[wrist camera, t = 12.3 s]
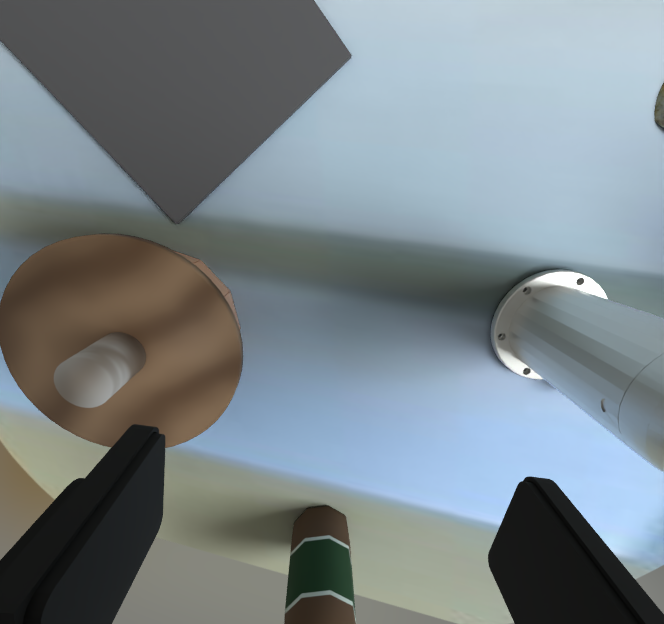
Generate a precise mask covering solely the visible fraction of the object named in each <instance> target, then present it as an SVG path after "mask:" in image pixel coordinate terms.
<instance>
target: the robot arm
mask: <svg viewBox="0 0 664 624" xmlns="http://www.w3.org/2000/svg"><path fill="white" fill-rule="evenodd" d="M523 289H524V290H523ZM491 343H492V346H493V349H494V352H495V353H496V355H497V357H498V359H499V360H500V361H501V362H502V363H503V364H504V365H505V366H506V367H507V368H509V369H510V370H511V371H512V372H514V373H516V374H518V375H520V376H522V377H526V378H529V379H539V380H541V379H544V380H546V381H547V382H548V383H549V384H550V385H552V386H553V387H554V388H555V389H557V390H558V391H559V392H560V393H562V394H563V395H564V396H565V397H567V398H568V399H569V400H570V401H572V402H573V403H574V404H575V405H577V406H578V407H579V408H580V409H582V410H583V411H584V412H585V413H587V414H588V415H589V416H590V417H591V418H593V419H594V420H595V421H596V422H598V423H599V424H600V425H601V426H603V427H604V428H605V429H606V430H608V431H609V432H610V433H611V434H613V435H614V436H615V437H616V438H618V439H619V440H620V441H621V442H623V443H624V444H625V445H626V446H628V447H629V448H630V449H631V450H633V451H634V452H635V453H637V454H638V455H639V456H640V457H642V458H643V459H644V460H645V461H647V462H648V463H649V464H651V465H652V466H654V467H655V468H657V469H658V470H660V471H662V472H664V318H662V317H659V316H656V315H653V314H650V313H647V312H644V311H641V310H638V309H635V308H632V307H629V306H626V305H623V304H620V303H618V302H615V301H612V300H609V299H608V298H607V296H606V294H605V292H604V290H603V289H602V288H601V286H600V285H599V284H598V283H597V282H596V281H594V280H593V279H592V278H590V277H588V276H586V275H584V274H582V273H578V272H574V271H571V270H562V269H557V270H548V271H544V272H540V273H537V274H534V275H532V276H530V277H528V278H526V279H524V280H523V281H521V282H520V283H518V284H517V285H516V286H515V287H513V288H512V289H511V290H510V291H509V292H508V293H507V294H506V296H505V297H504V298H503V300H502V301H501V302H500V304H499V306H498V308H497V310H496V311H495V314H494V317H493V320H492V325H491ZM164 467H165V435H164V434H159V429H158V428H157V427H153V426H145V425H138V424H133V425H131V426H130V427H129V428H128V429H127V430H126V432H125V433H124V434H123V435H122V436H121V437H120V439H119V440H118V441H117V442H116V443H115V444H114V445H113V447H112V448H111V449H110V450H109V451H108V452H107V454H106V455H105V456H104V457H103V458H102V459H101V461H100V462H99V463H98V464H97V465H96V466H95V467H94V469H93V470H92V471H91V472H90V473H89V474H88V476H87V477H86V478H78V479H76V480H74V481H73V482H72V483H71V484H69V485H68V486H67V487H66V488H65V489H64V491H63V492H62V493H61V494H60V495H59V496H58V497H57V498H56V499H55V500H54V502H53V503H52V504H51V505H50V506H49V507H48V508H47V509H46V510H45V512H44V513H43V514H42V515H41V516H40V517H39V518H38V519H37V520H36V521H35V523H34V524H33V525H32V526H31V527H30V528H29V529H28V531H26V533H25V534H24V535H23V536H22V537H21V538H20V539H19V541H17V543H16V544H15V545H14V546H13V547H12V548H11V549H10V550H9V551H8V552H7V554H6V555H5V556H4V557H3V558H2V559H1V560H0V624H112V622H113V620H114V618H115V616H116V614H117V612H118V610H119V608H120V606H121V604H122V602H123V600H124V598H125V596H126V594H127V593H128V591H129V589H130V587H131V585H132V583H133V580H134V579H135V577H136V574H137V573H138V571H139V569H140V567H141V565H142V563H143V561H144V559H145V557H146V555H147V553H148V551H149V549H150V547H151V545H152V543H153V541H154V539H155V537H156V535H157V533H158V531H159V528H160V525H161V522H162V517H163V495H164ZM488 562H489V567H490V569H491V572H492V574H493V576H494V579H495V581H496V583H497V585H498V587H499V590H500V592H501V594H502V596H503V598H504V601H505V603H506V605H507V607H508V609H509V612H510V614H511V616H512V618H513V621H514V623H515V624H664V614H663V613H662V612H661V611H660V609H659V608H658V607H657V606H656V605H655V603H654V602H653V601H652V600H651V598H650V597H649V596H648V595H647V594H646V592H645V591H644V590H643V589H642V588H641V586H640V585H639V584H638V583H637V581H636V580H635V579H634V578H633V577H632V575H631V574H630V573H629V572H628V570H627V569H626V568H625V567H624V566H623V564H622V563H621V562H620V561H619V560H618V558H617V557H616V556H615V555H614V553H613V552H612V551H611V550H610V549H609V547H608V546H607V545H606V544H605V543H604V541H603V540H602V539H601V538H600V536H599V535H598V534H597V533H596V532H595V530H594V529H593V528H592V527H591V526H590V524H589V523H588V522H587V521H586V519H585V518H584V517H583V516H582V515H581V513H580V512H579V511H578V510H577V509H576V507H575V506H574V505H573V504H572V502H571V501H570V500H569V499H568V498H567V496H566V495H565V494H564V493H563V492H562V490H561V489H560V488H559V487H558V485H557V484H556V483H555V482H554V481H552V480H550V479H545V478H537V477H526V478H525V479H524V481H523V482H520V483H519V484H518V486H517V488H516V491H515V493H514V495H513V498H512V500H511V502H510V505H509V507H508V509H507V511H506V514H505V516H504V518H503V521H502V523H501V525H500V528H499V530H498V532H497V535H496V537H495V539H494V542H493V544H492V546H491V549H490V551H489V554H488Z"/></svg>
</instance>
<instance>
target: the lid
mask: <svg viewBox="0 0 664 624" xmlns="http://www.w3.org/2000/svg"><path fill="white" fill-rule="evenodd" d="M0 346H1V349H2V353H3V356H4V359H5V362H6V364H7V366H8V368H9V371H10V373H11V375H12V376H13V378H14V380H15V381H16V383H17V385H18V386H19V388H20V389H21V390H22V391H23V393H24V394H25V395H26V397H27V398H28V399H29V400H30V401H31V402H32V403H33V404H34V405H35V406H36V407H37V408H38V410H40V411H41V412H42V413H43V414H44V415H46V416H47V417H48V418H49V419H50V420H52V421H53V422H55V423H56V424H58V425H59V426H61V427H62V428H64V429H65V430H67V431H69V432H71V433H73V434H75V435H76V436H79V437H81V438H83V439H86V440H88V441H91V442H94V443H97V444H100V445H103V446H107V447H113V445H114V444H115V443H116V442H117V441H118V440H119V439H120V437H121V436H122V435H123V434H124V433H125V432H126V430H127V429H128V428H129V427H130V426H131V425H133V424H138V425H145V426H153V427H157V428H158V429H159V434H164V435H165V448H167V447H171V446H175V445H178V444H181V443H183V442H186V441H188V440H190V439H192V438H194V437H196V436H198V435H199V434H201V433H202V432H204V431H205V430H207V429H208V428H209V427H210V426H211V425H212V424H213V423H215V422H216V421H217V420H218V418H219V417H220V416H221V415H222V414H223V412H224V411H225V410H226V408H227V406H228V405H229V403H230V401H231V399H232V397H233V395H234V393H235V390H236V388H237V385H238V383H239V380H240V376H241V371H242V364H243V347H242V339H241V334H240V330H239V327H238V324H237V321H236V318H235V315H234V313H233V311H232V309H231V307H230V305H229V303H228V302H227V300H226V299H225V297H224V296H223V294H222V293H221V291H220V290H219V289H218V287H217V286H216V285H215V284H214V283H213V282H212V280H211V279H210V278H209V277H208V276H207V275H206V274H205V273H204V272H202V271H201V270H200V269H199V268H198V267H197V266H196V265H194V264H193V263H192V262H190V261H189V260H187V259H186V258H185V257H183V256H182V255H180V254H178V253H176V252H174V251H173V250H171V249H169V248H167V247H165V246H162V245H160V244H157V243H155V242H153V241H149V240H146V239H142V238H139V237H135V236H128V235H122V234H94V235H85V236H78V237H73V238H69V239H65V240H61V241H58V242H56V243H54V244H51V245H49V246H47V247H44V248H43V249H41V250H40V251H38V252H36V253H35V254H33V255H32V256H31V257H29V258H28V259H27V260H26V261H25V262H24V263H23V264H22V265H21V266H20V267H19V268H18V269H17V271H16V272H15V273H14V275H13V276H12V277H11V279H10V281H9V283H8V285H7V286H6V288H5V291H4V294H3V297H2V300H1V303H0Z"/></svg>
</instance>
